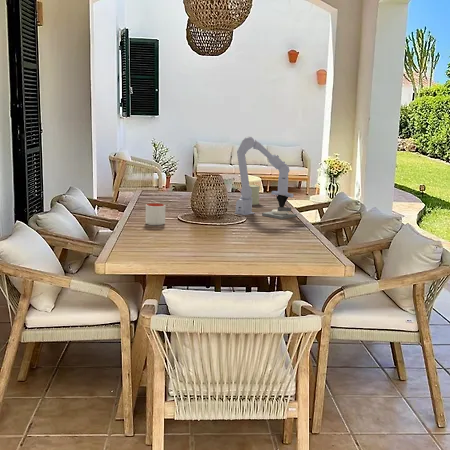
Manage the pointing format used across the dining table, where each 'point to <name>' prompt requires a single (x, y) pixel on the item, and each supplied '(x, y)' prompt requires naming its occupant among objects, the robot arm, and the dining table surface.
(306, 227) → the dining table surface
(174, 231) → the dining table surface
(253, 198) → the can
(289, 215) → the dial plate
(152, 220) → the cup
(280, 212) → the dial
